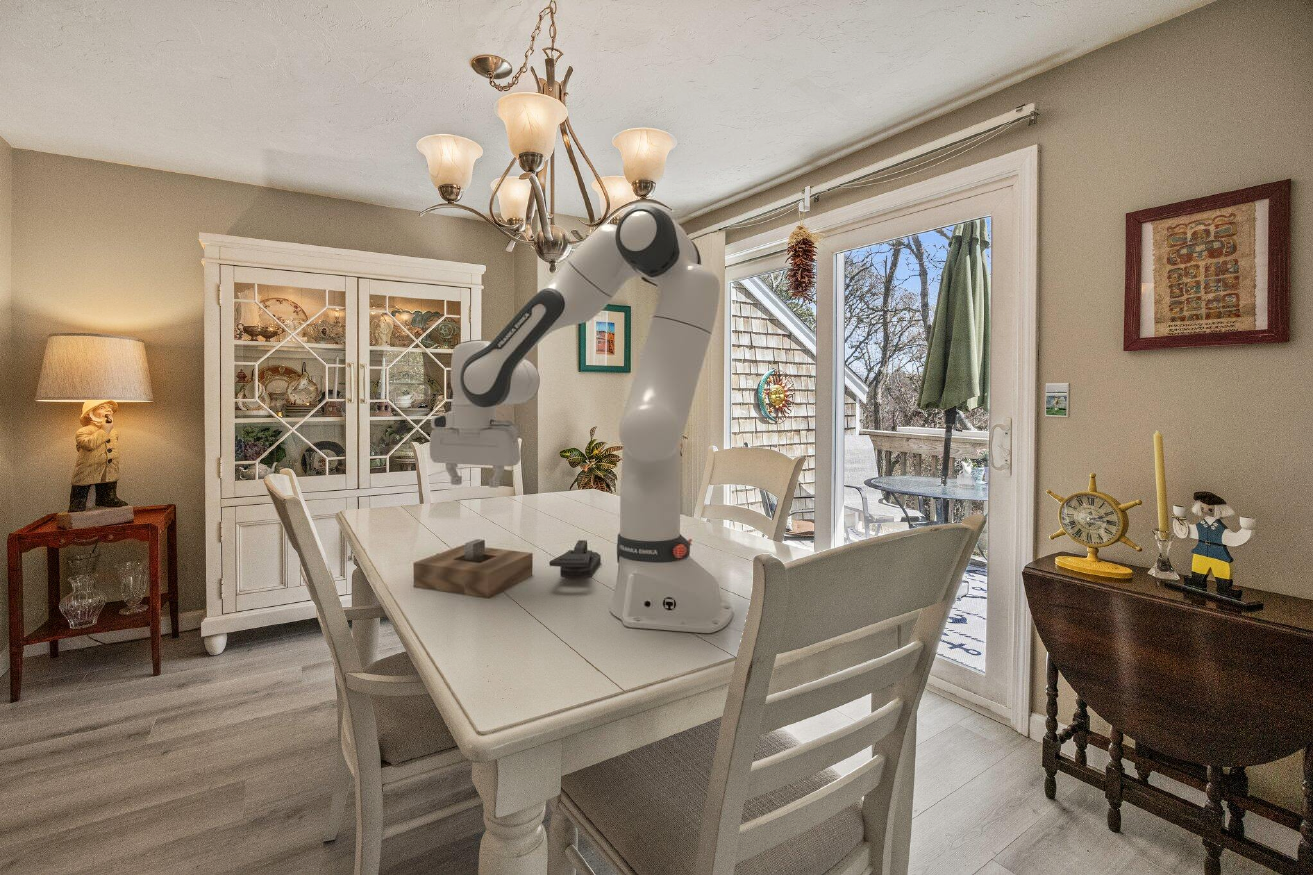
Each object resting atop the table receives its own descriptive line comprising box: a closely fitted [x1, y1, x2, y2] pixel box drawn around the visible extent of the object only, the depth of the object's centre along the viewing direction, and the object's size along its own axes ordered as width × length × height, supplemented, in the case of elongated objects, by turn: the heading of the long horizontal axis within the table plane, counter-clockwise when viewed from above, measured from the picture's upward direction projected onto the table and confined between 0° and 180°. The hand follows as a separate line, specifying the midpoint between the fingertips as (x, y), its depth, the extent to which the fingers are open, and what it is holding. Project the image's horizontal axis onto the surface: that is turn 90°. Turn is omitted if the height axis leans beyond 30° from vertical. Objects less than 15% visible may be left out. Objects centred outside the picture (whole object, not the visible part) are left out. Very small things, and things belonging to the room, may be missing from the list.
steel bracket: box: [464, 538, 486, 563], centre depth 128 cm, size 5×4×8 cm
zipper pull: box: [548, 539, 602, 580], centre depth 134 cm, size 9×7×25 cm
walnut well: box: [413, 544, 534, 599], centre depth 128 cm, size 18×16×5 cm
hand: (475, 485), depth 127 cm, fingers open, 8 cm apart
